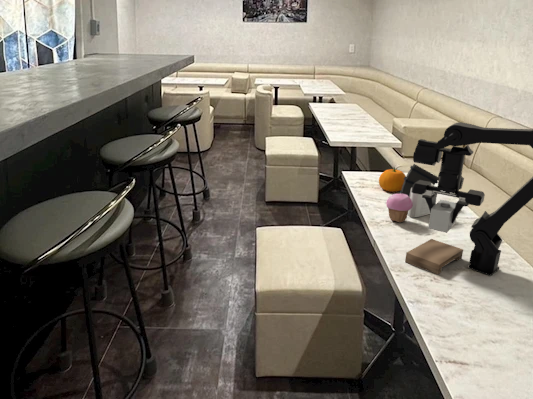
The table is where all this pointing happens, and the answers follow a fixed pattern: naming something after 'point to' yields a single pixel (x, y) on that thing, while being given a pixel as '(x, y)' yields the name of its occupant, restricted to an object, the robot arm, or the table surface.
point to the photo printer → (418, 205)
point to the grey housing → (442, 216)
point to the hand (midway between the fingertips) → (442, 220)
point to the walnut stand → (433, 255)
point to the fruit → (392, 180)
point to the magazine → (416, 178)
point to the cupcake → (399, 206)
